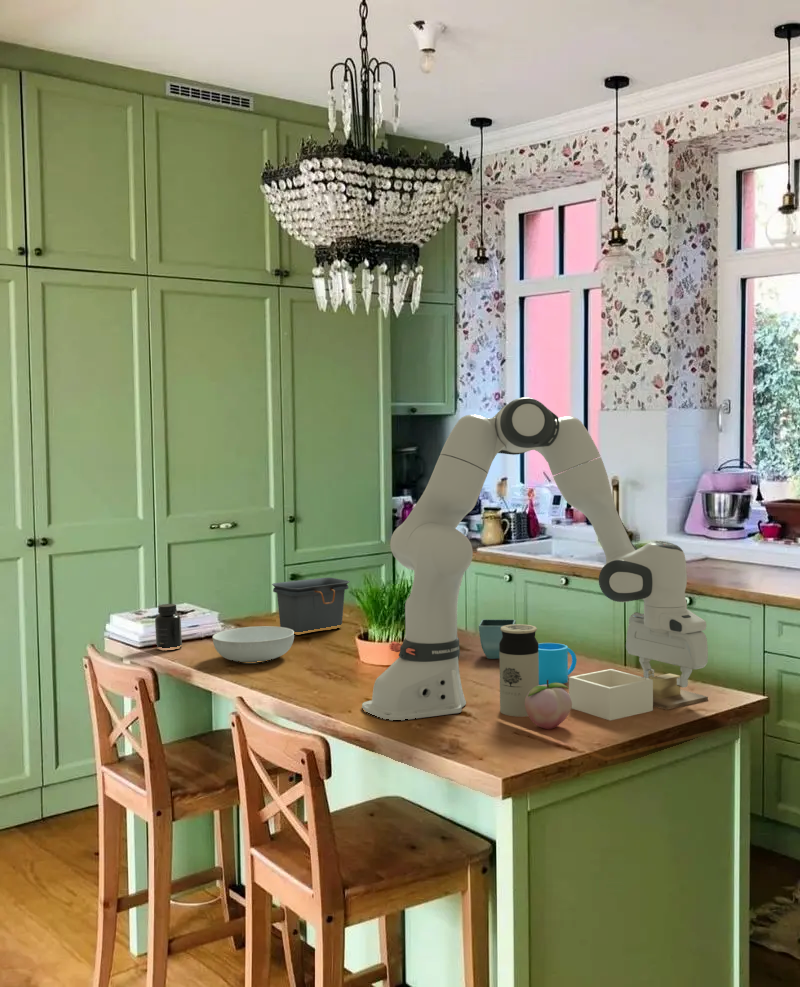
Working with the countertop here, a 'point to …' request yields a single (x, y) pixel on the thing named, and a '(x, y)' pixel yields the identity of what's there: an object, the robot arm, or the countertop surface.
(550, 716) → the decorative fruit
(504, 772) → the countertop surface
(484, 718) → the countertop surface
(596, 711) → the box
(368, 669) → the countertop surface
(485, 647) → the flower pot
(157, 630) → the supplement bottle
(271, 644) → the serving bowl
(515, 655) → the travel mug
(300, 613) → the storage bin
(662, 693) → the lid
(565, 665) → the mug
